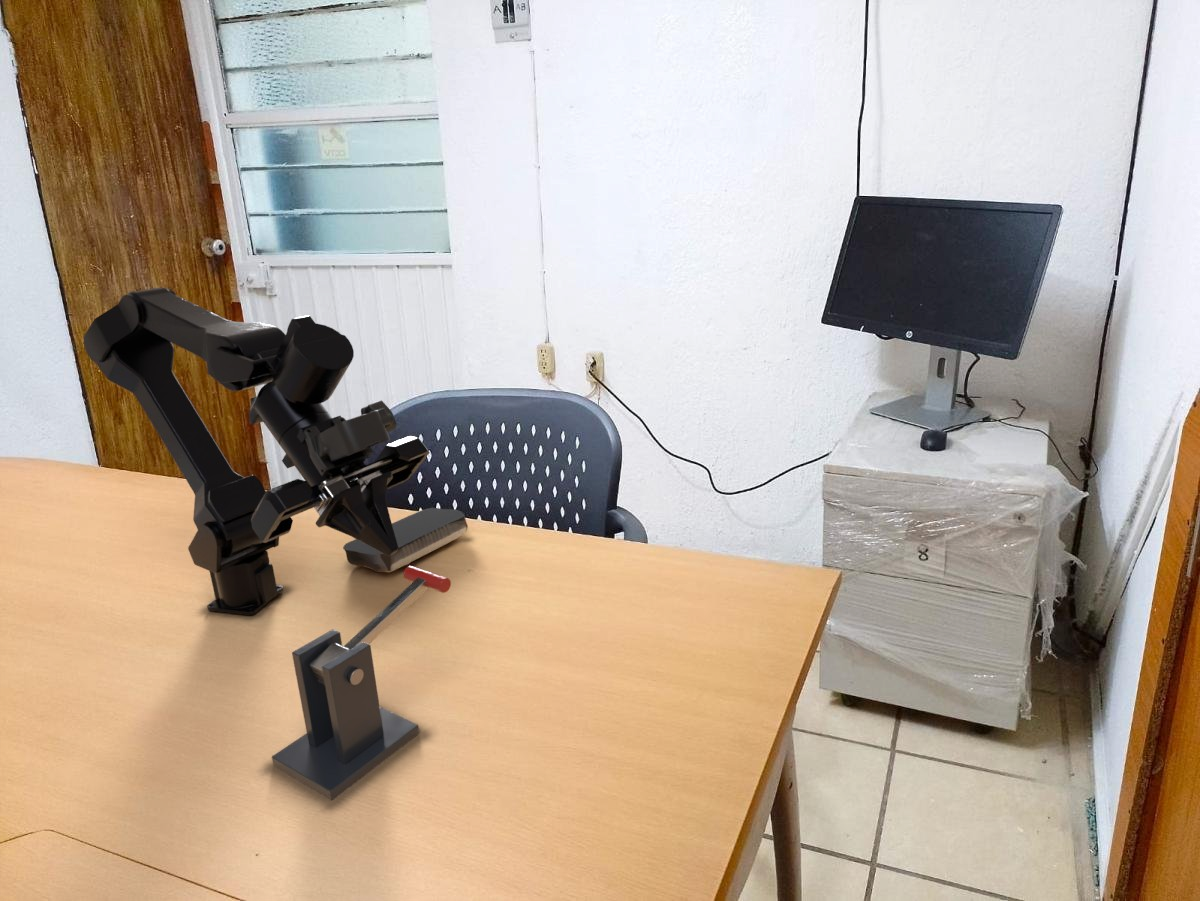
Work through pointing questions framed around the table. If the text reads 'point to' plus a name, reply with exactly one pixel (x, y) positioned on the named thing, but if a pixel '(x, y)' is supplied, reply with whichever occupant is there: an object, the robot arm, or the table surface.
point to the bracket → (340, 720)
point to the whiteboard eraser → (411, 539)
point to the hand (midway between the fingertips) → (393, 552)
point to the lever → (385, 615)
